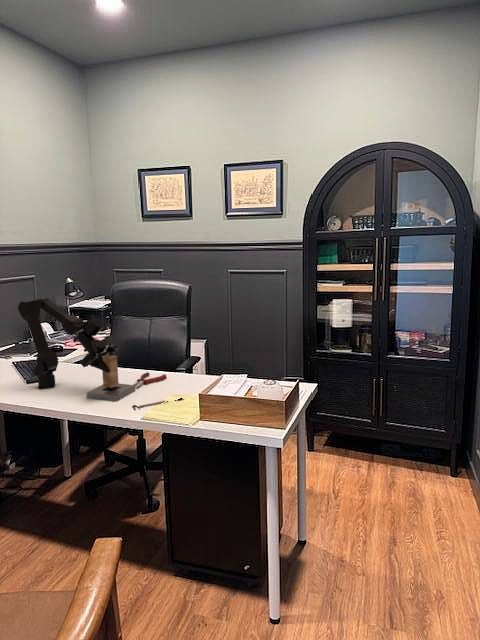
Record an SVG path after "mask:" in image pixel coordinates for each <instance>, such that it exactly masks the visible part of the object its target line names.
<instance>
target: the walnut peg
mask: <svg viewBox="0 0 480 640" xmlns="http://www.w3.org/2000/svg"><path fill="white" fill-rule="evenodd" d="M102 359H103V362H104V363H105V364H106V366H107V367H108V368H109V370H110V372H109V373H107V372H105V371H103V370H101V371H102V385H103V387H111V388H112V387H114V386H116V385H118V384H120V382H119V370H118V369H119V367H118V356H117V355H114V354H113V355H107V356H104V357H102Z"/></svg>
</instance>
